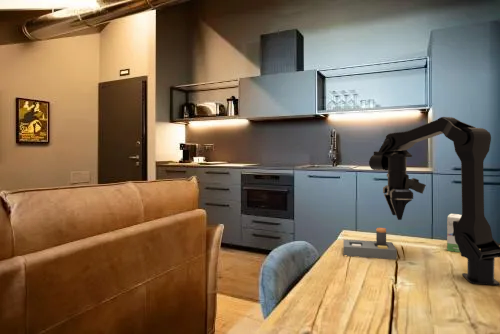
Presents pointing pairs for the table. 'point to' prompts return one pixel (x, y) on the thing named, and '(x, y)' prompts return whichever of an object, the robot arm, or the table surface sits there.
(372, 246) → the port block
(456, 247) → the ink box
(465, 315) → the table surface
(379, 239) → the plug
